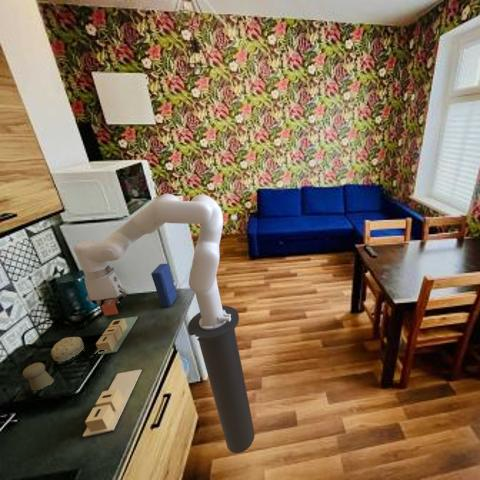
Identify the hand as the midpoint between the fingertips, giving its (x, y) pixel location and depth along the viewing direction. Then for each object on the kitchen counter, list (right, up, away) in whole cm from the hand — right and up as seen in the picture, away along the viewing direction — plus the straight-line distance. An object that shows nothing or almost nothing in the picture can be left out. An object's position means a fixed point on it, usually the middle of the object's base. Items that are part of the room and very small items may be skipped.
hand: (113, 310), depth 108 cm
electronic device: (+6, -4, +31) cm, 31 cm away
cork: (-12, -24, -15) cm, 31 cm away
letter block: (0, 0, 0) cm, 0 cm away
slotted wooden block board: (+16, -25, -19) cm, 35 cm away
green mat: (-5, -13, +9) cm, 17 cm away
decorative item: (-16, -18, -1) cm, 24 cm away
